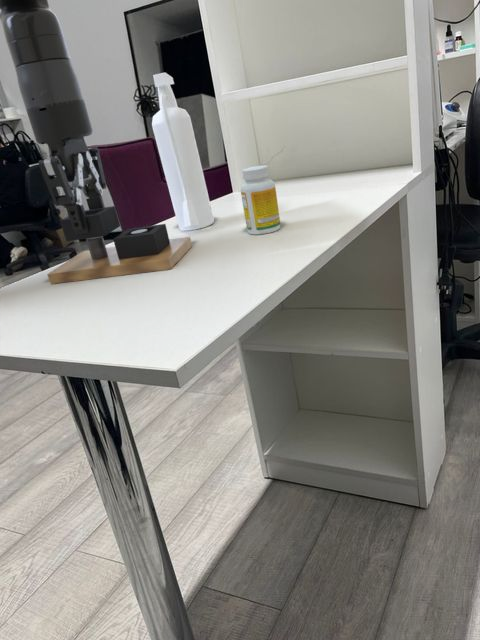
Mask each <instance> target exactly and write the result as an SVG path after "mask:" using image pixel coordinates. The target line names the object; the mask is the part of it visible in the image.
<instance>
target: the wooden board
mask: <svg viewBox="0 0 480 640" xmlns="http://www.w3.org/2000/svg"><path fill="white" fill-rule="evenodd" d="M141 233H148V230H147V229H141V230H136V231H133V232H131V235H134V234H141ZM85 241H86V244H87V247H88V249H87V250H83V251H80V252H79V253H78V254H76V255H75V256H73V257H71V258H70V259H68V260H67V261H65V262H64V263H63V264H61V265H60V266H58V267H56V268H55V269H53V270H52V271H50V272H48V273H47V277H48V280H49V284H50V285H54V284H55V285H56V284H63V283H70V282H80V281H86V280H94V279H95V280H96V279H103V278H113V277H119V276H127V275H137V274H145V273H150V272H160V271H166V270H167V271H169V270H172V269H173V268H174V267H175V265H176V264H177V263H178V262H179V261H180V260H181V259H182V258H183V257H184V255H185V254H186V253H187V252H188V251H189V250H190V249H191V248H192V247H193V243H192V240H191V236H185V237H176V238H169V241H170V244H169V245H168V246H167V247H166V248H164V249H163V250H162V251H161V252H160V253H159V254H158V255H150V256H143V257H135V258H127V259H119V258H118V255H117V251H116V248H115V246H109V247H106V243H105V240H104V236H101V237H94V238H87V239H85Z"/></svg>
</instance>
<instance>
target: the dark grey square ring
mask: <svg viewBox="0 0 480 640" xmlns="http://www.w3.org/2000/svg"><path fill="white" fill-rule="evenodd" d="M84 210H85V209H84ZM85 213H86V217H87V220H88V224H89V227H90V231H89V232H88V233H84V234H75V233H74V232H73V228H72V225H71V222H70V219H69V216H67V217H64V218H62V219H60V220H59V224H60V226H61V229H62V232H63V235H64V239H65V242H72V241H79V240H86V239H87V238H94V237H101V236H103V237H106V236H107V235H108V234H110V233H112V232H114V231H116V230H117V229H119V228H120V227H121V223H120V219H119V216H118V212H117V207H116V206H115V205H112V206H105V208H98V209H92V210H89V209H87V210H85Z"/></svg>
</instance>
